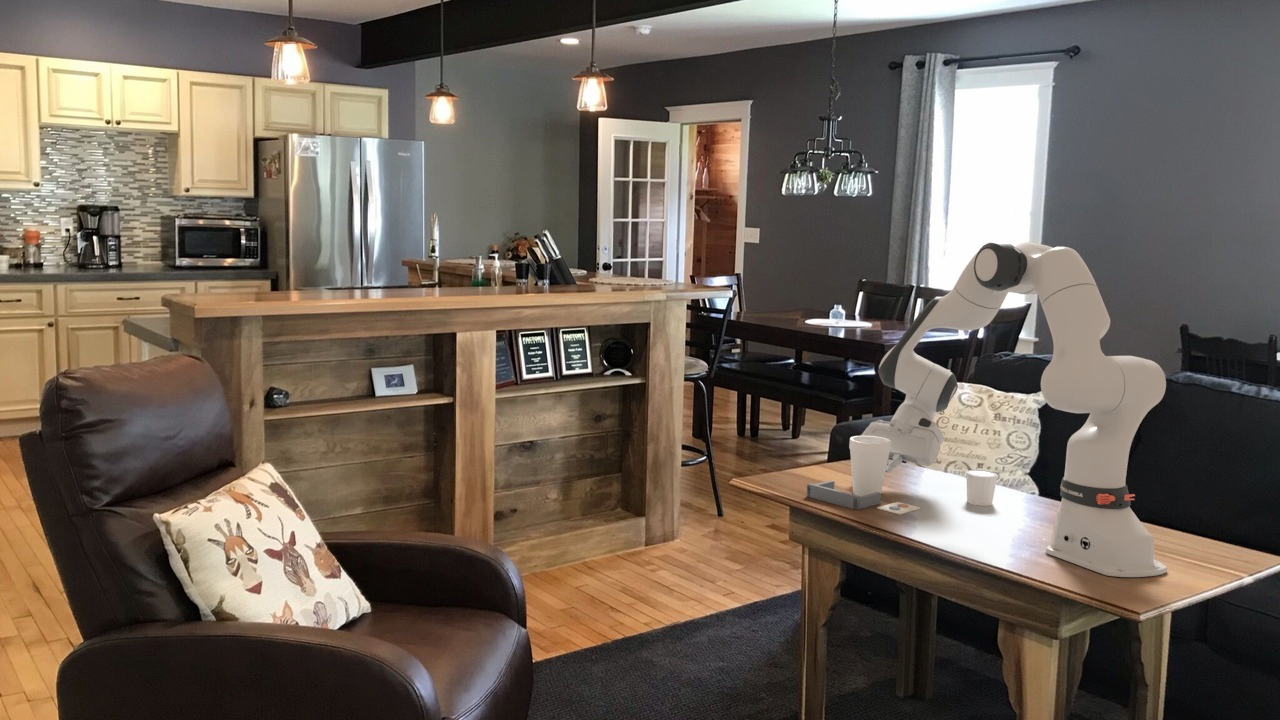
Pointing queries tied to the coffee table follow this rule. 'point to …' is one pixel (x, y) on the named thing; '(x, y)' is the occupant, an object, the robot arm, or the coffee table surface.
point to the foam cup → (868, 463)
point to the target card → (898, 508)
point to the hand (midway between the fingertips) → (883, 470)
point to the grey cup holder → (841, 496)
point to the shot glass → (980, 487)
